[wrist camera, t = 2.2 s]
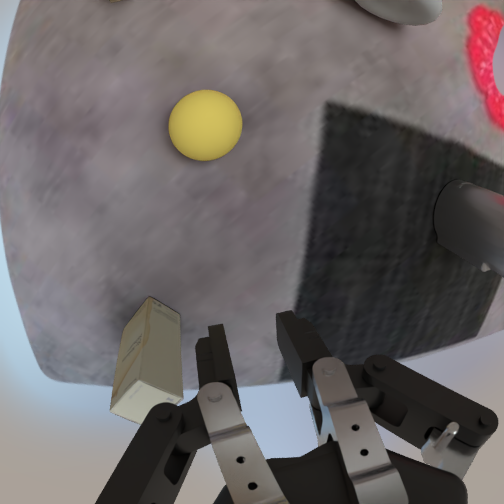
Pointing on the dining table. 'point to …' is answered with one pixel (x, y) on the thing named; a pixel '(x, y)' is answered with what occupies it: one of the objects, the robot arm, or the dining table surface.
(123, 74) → the dining table surface
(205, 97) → the ball
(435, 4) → the donut
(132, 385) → the skincare box
